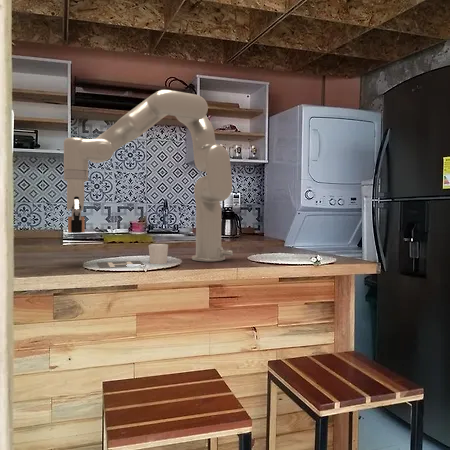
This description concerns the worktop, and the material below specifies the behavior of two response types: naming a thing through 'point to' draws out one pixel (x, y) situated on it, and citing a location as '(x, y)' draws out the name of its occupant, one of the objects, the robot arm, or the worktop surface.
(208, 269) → the worktop surface
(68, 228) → the terracotta block
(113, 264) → the letter mat
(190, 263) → the worktop surface
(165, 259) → the beige tapered cup
